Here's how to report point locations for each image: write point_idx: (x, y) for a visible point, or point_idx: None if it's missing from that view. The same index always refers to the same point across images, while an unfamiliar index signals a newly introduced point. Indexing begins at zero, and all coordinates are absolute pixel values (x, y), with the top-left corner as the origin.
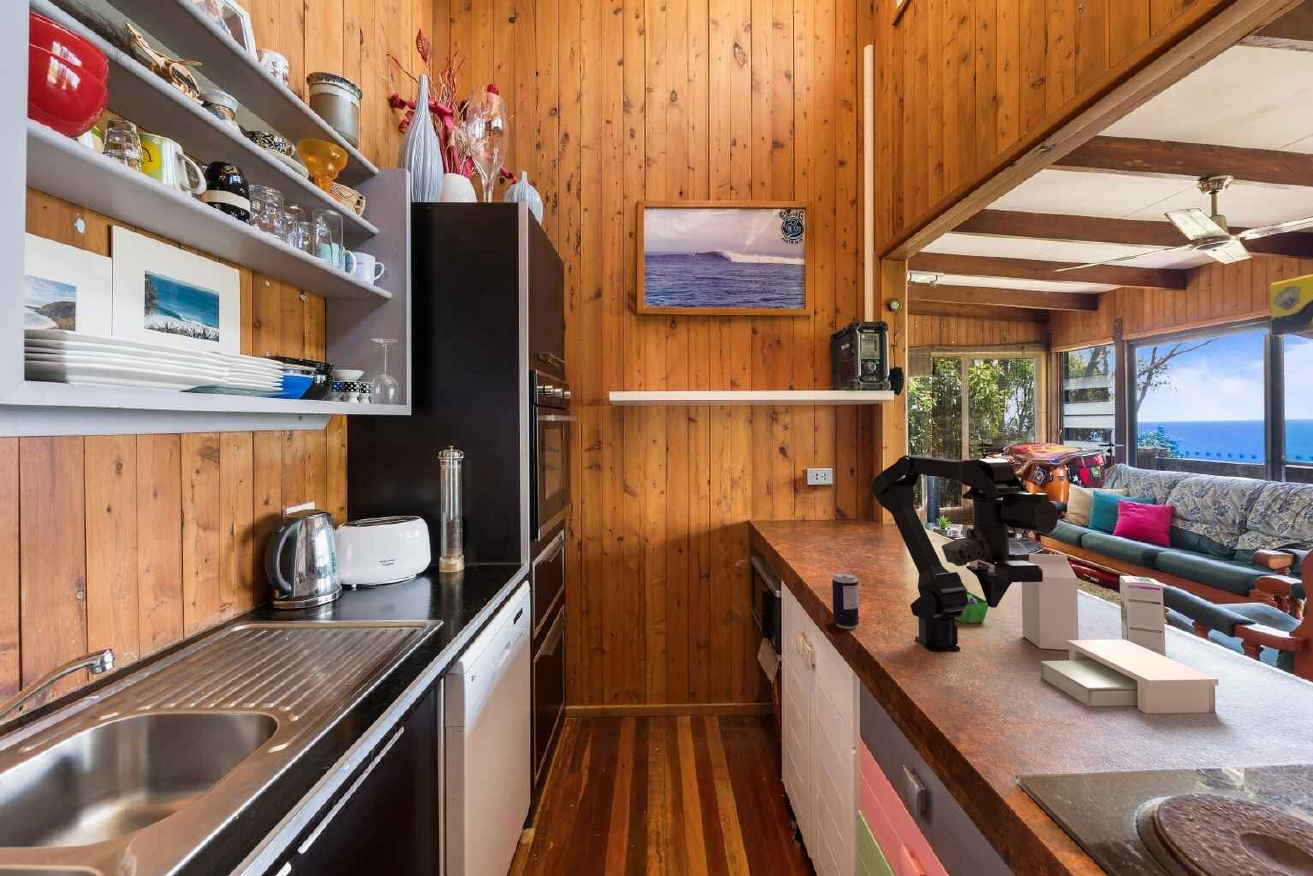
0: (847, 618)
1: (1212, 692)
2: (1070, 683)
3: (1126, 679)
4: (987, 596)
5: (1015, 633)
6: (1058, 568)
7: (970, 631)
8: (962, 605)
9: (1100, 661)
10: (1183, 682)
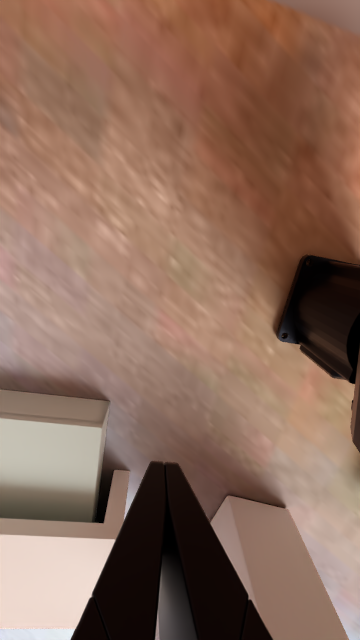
0: None
1: None
2: (10, 409)
3: None
4: (173, 526)
5: (303, 505)
6: None
7: (351, 436)
8: (356, 424)
9: (25, 522)
10: None
